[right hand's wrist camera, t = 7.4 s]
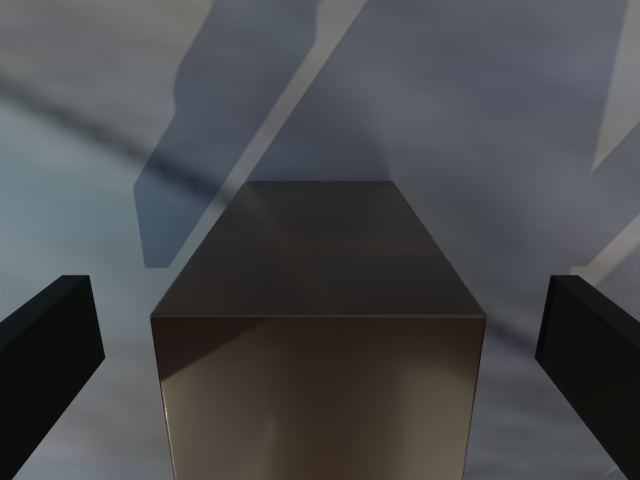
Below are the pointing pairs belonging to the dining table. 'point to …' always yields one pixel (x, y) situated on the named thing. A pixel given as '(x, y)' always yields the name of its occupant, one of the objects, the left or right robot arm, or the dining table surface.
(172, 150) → the dining table surface
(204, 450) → the walnut plank
